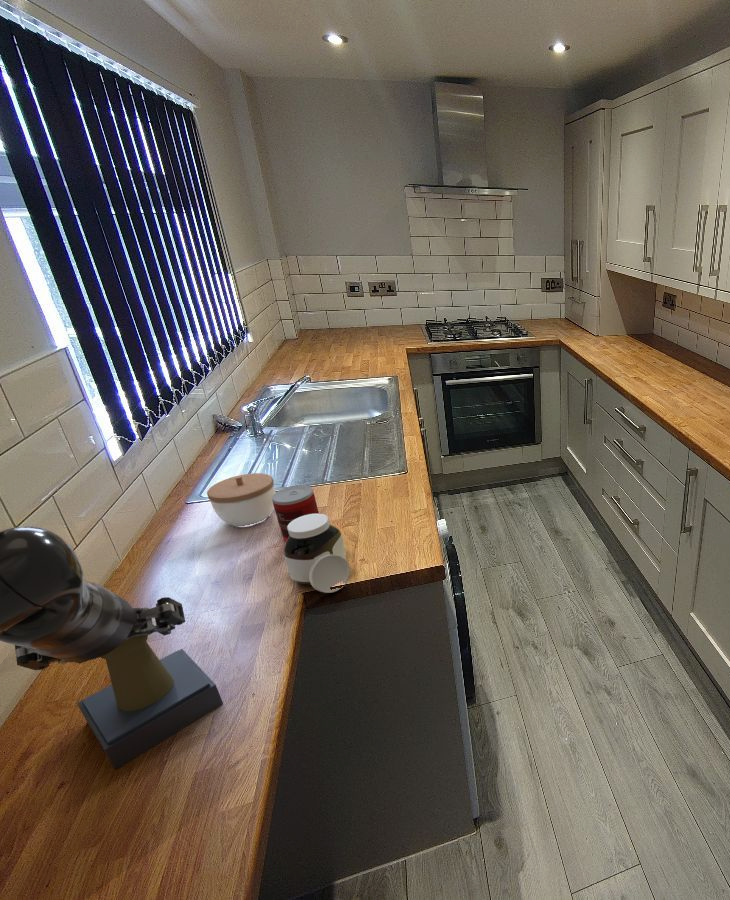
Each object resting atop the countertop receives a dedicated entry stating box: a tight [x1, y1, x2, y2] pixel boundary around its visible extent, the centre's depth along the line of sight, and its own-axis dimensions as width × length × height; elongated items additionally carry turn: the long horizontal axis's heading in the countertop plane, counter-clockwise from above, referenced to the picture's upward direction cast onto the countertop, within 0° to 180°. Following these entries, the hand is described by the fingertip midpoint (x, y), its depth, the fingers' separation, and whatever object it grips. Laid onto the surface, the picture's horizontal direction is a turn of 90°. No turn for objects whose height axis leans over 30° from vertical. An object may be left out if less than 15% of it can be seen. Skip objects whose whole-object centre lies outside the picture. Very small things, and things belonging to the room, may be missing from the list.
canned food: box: [272, 484, 320, 544], centre depth 112 cm, size 8×8×11 cm
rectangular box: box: [76, 648, 224, 771], centre depth 72 cm, size 12×12×4 cm
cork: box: [99, 629, 174, 711], centre depth 69 cm, size 6×6×11 cm
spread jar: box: [283, 513, 351, 594], centre depth 98 cm, size 12×11×12 cm
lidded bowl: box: [206, 472, 277, 527], centre depth 119 cm, size 13×13×11 cm
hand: (126, 640), depth 69 cm, fingers open, 8 cm apart
